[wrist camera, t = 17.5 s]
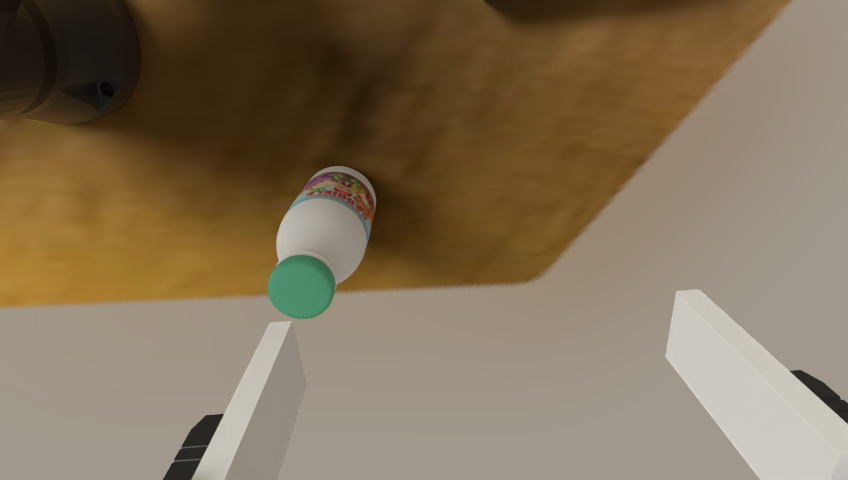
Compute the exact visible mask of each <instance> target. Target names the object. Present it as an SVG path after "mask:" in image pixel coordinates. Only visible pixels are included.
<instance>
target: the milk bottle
mask: <svg viewBox="0 0 848 480" xmlns="http://www.w3.org/2000/svg"><path fill="white" fill-rule="evenodd" d="M375 208H376V196H375V192H374V189H373V187H372V185H371V184H370V182H369V181H368V180H367V178H366V177H364V176H363V175H362V174H361V173H359V172H358V171H356V170H354V169H352V168H349V167H344V166H332V167H327V168H325V169H322V170H320V171H319V172H317V173H316V174H315V175H314V176H313V177H312V178H311V179H310V180H309V182H308V183H307V184H306V186H305V187H304V188H303V190H302V191H301V193H300V194H299V195H298V197H297V198H296V200H295V201H294V203H293V204H292V206H291V207H290V209H289V210H288V212H287V213H286V215H285V217H284V219H283V220H282V222H281V225H280V227H279V230H278V234H277V241H276V248H277V255H278V259H279V262H278V263H277V265H276V267H275V269H274V270H273V272H272V274H271V276H270V278H269V281H268V295H269V298H270V300H271V302H272V303H273V305H274V306H275V307H276V308H277V309H278V310H279V311H280V312H282V313H283V314H285V315H288V316H290V317H293V318H298V319H308V318H313V317H315V316H318V315H320V314H321V313H323V312H324V311H325V310H326V309H327V308H328V307H329V305H330V303H331V301H332V299H333V296H334V293H335V289H336V286H337V284H339V283H341V282H342V281H344V280H345V279H347V278H348V277H349V276H350V275H351V274H352V273H353V272H354V271H355V270H356V268H357V267H358V266H359V264H360V262H361V260H362V258H363V256H364V253H365V250H366V247H367V243H368V239H369V235H370V231H371V227H372V223H373V218H374V213H375Z"/></svg>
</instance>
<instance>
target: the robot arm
mask: <svg viewBox="0 0 848 480" xmlns="http://www.w3.org/2000/svg"><path fill="white" fill-rule="evenodd" d="M139 68H140V50H139V43H138V38H137V34H136V31H135V28H134V25H133V22H132V20H131V18H130V15H129V13H128V11H127V10H126V8H125V6H124V4H123V3H122V1H121V0H0V119H5V118H8V117H13V116H17V117H22V118H28V119H33V120H39V121H44V122H50V123H58V124H74V123H81V122H86V121H90V120H94V119H97V118H101V117H104V116H106V115H108V114H110V113H112V112H114V111H115V110H117V109H118V108H119V107H120V106H121V105H123V104H124V102H125V101H126V100H127V99H128V98H129V96H130V95H131V93H132V91H133V89H134V87H135V85H136V82H137V78H138V74H139ZM666 358H667V359H668V361H669V362H670V363H671V365H672V366H673V367H674V368H675V370H676V371H677V372H678V374H679V375H680V376H681V377H682V379H683V380H684V381H685V383H686V384H687V385H688V387H689V388H690V389H691V390H692V392H693V393H694V394H695V396H696V397H697V398H698V400H699V401H700V402H701V404H702V405H703V406H704V407H705V409H706V410H707V411H708V412H709V414H710V415H711V416H712V418H713V419H714V420H715V422H716V423H717V424H718V425H719V427H720V428H721V429H722V431H723V432H724V433H725V435H726V436H727V437H728V438H729V440H730V441H731V442H732V444H733V445H734V446H735V448H736V449H737V450H738V452H739V453H740V454H741V455H742V457H743V458H744V459H745V461H746V462H747V463H748V464H749V466H750V467H751V468H752V470H753V471H754V472H755V474H756V475H757V476H758V477H759V479H760V480H848V403H847V402H845V401H844V400H841V399H840V396H838V395H837V394H836V393H835V392H834V391H833V390H831V389H830V388H829V387H828V386H827V385H826V384H824V383H823V382H821V381H820V380H818V379H816V378H814V377H812V376H811V375H809V374H807V373H805V372H803V371H801V370H796V371H789V370H787V369H786V368H785V367H784V366H783V365H782V364H781V363H780V362H778V361H777V360H776V359H775V358H774V357H773V356H772V355H771V354H770V353H769V352H768V351H766V350H765V349H764V348H763V347H762V346H761V345H760V344H759V343H757V341H755V340H754V339H753V338H752V337H751V336H750V335H749V334H748V333H747V332H746V331H744V330H743V329H742V328H741V327H740V326H739V325H738V324H737V323H736V322H735V321H733V320H732V319H731V318H730V317H729V316H728V315H727V314H726V313H725V312H723V311H722V310H721V309H720V308H719V307H718V306H717V305H716V304H715V303H714V302H712V301H711V300H710V299H709V298H708V297H707V296H706V295H705V294H704V293H702V292H701V291H700V290H685V291H676V296H675V302H674V308H673V314H672V320H671V327H670V332H669V339H668V345H667V350H666ZM306 384H307V382H306V378H305V374H304V370H303V365H302V361H301V357H300V353H299V348H298V344H297V340H296V336H295V332H294V327H293V323H292V321H284V322H271V323H270V324H269V326H268V328H267V330H266V332H265V334H264V336H263V338H262V340H261V342H260V344H259V346H258V348H257V350H256V352H255V354H254V356H253V358H252V360H251V362H250V364H249V366H248V368H247V370H246V372H245V374H244V376H243V378H242V380H241V382H240V384H239V386H238V388H237V390H236V392H235V394H234V396H233V398H232V400H231V402H230V404H229V406H228V408H227V410H226V412H225V414H218V415H206V416H205V417H204V418H203V419H202V420H201V421H200V422H199V423H198V424H197V425H196V426H194V427H193V428H192V429H191V431H190V432H189V434H188V436H187V438H186V440H185V441H184V443H183V445H182V449H180V450H179V452H178V454H177V455H176V457H175V459H174V463H172V464H171V466H170V468H169V470H168V471H167V473H166V475H165V477H164V479H163V480H277V478H278V475H279V472H280V469H281V466H282V462H283V459H284V456H285V453H286V449H287V446H288V443H289V440H290V436H291V433H292V430H293V427H294V423H295V420H296V417H297V414H298V410H299V407H300V404H301V401H302V397H303V394H304V391H305V388H306Z"/></svg>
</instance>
